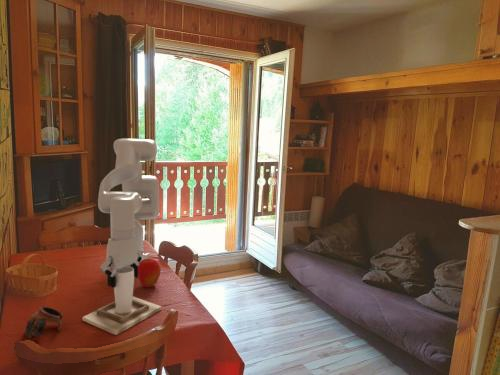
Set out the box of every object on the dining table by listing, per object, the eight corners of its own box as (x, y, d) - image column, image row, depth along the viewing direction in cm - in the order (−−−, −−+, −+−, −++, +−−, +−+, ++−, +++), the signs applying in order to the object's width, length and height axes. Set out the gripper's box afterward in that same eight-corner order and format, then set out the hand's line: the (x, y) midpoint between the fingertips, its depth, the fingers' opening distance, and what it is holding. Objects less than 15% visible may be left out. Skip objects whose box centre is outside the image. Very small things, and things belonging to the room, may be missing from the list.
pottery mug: (27, 327, 117) (41, 302, 119) (55, 338, 119) (69, 314, 121) (14, 338, 106) (29, 311, 107) (46, 350, 108) (61, 323, 109)
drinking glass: (127, 317, 123) (127, 274, 120) (109, 314, 124) (108, 272, 122) (137, 307, 129) (137, 267, 127) (120, 305, 131) (119, 264, 128)
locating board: (129, 298, 139) (129, 291, 139) (161, 309, 131) (161, 302, 131) (82, 320, 122) (82, 312, 121) (116, 335, 114) (116, 327, 114)
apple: (164, 284, 152) (164, 256, 151) (150, 292, 144) (150, 263, 142) (147, 279, 156) (147, 252, 154) (131, 287, 148) (131, 258, 146)
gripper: (134, 225, 131) (134, 270, 134) (92, 237, 117) (94, 287, 120) (150, 229, 128) (149, 275, 131) (109, 242, 113) (110, 294, 116)
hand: (123, 281), depth 125 cm, fingers open, 9 cm apart
